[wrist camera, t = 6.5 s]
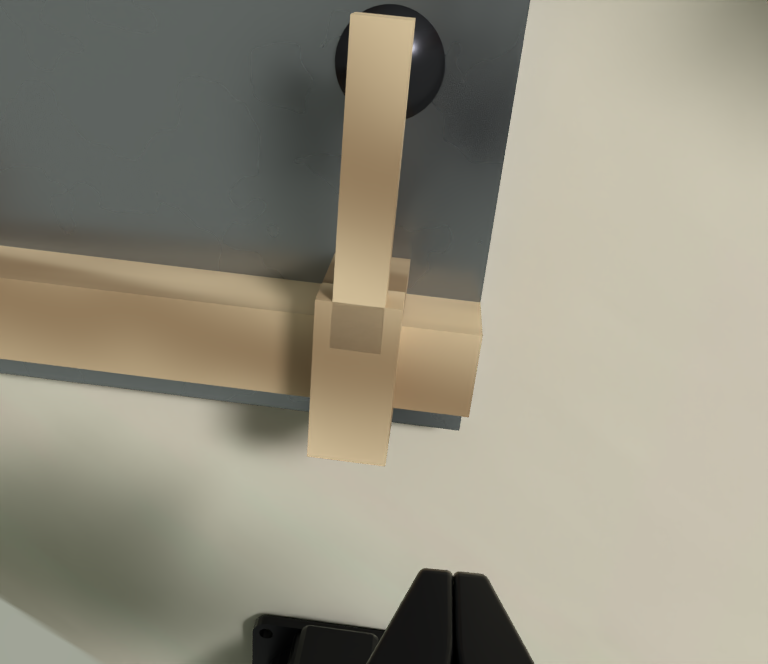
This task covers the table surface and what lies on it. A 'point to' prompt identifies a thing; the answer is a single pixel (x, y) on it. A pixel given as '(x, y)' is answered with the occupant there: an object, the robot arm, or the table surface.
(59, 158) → the steel plate
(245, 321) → the compass bar
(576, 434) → the table surface
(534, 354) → the table surface
